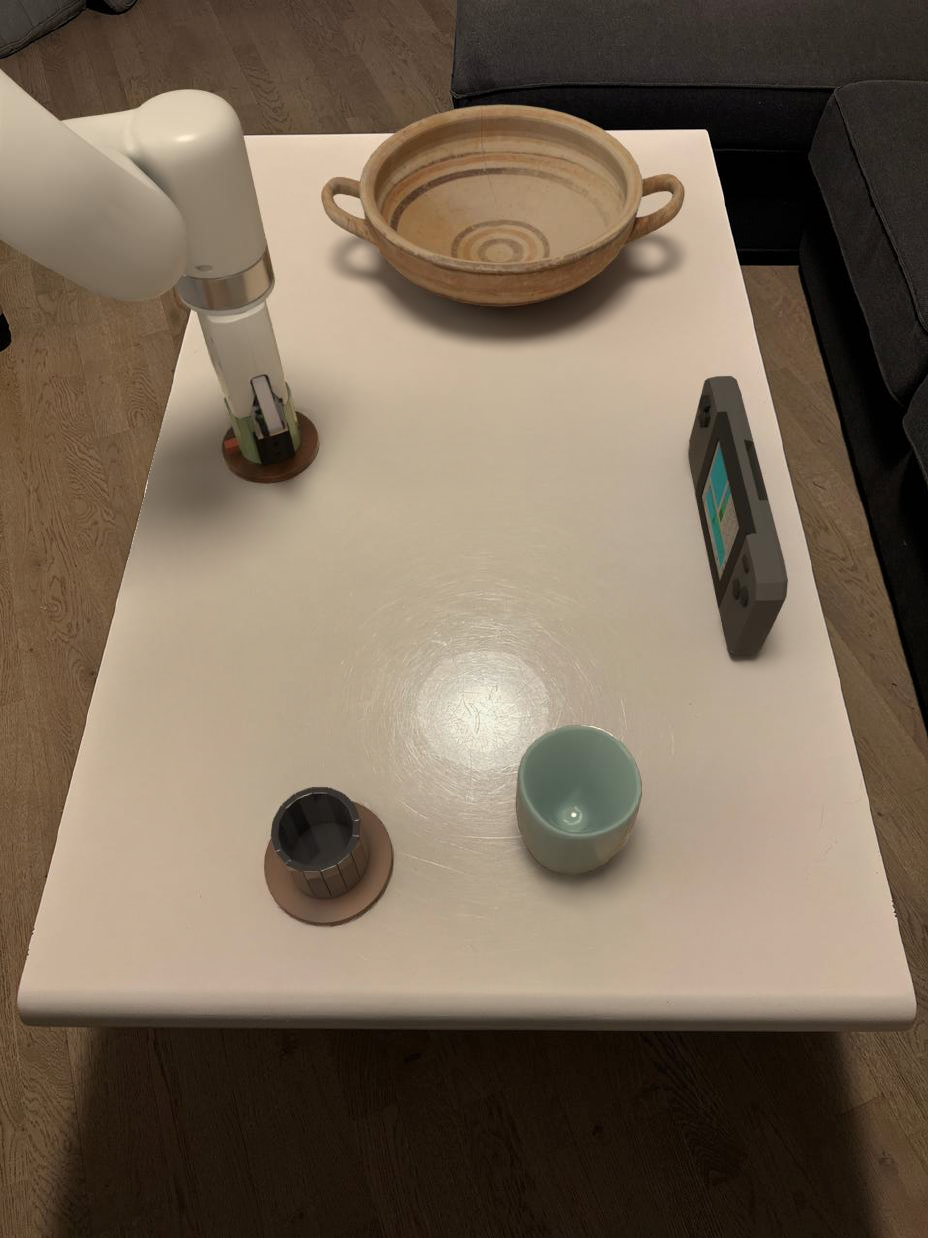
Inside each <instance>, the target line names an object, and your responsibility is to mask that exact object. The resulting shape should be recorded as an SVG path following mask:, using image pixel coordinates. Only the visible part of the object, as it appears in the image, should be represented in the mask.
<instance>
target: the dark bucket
mask: <svg viewBox="0 0 928 1238" xmlns="http://www.w3.org/2000/svg"><path fill="white" fill-rule="evenodd" d="M352 801H353V800H352V799H350V797H349V796H347V794H345V793H344V792H342V791H339V790H336V789H334V788H332V787H328V786H312V787H308V788H305V789H303V790H300V791H297V792H295V793H293V794H291V796H289V797H288V798H287V799H286V800H285V801H283V802H282V803H281V805H280V806H279V808H278V809H277V811H276V813H275V815H274V817H273V819H272V821H271V828H270V829H271V830H270V839H271V841H272V844H273V847H274V851H275V853H276V855H277V857H278V859H279V860H280V862H281V864H282V866H283V868H284V869H285V871H286V873H287V875H288V877H289V878H290V880H291V881H292V882H293V884H294V885H295V886H296V887H297V888H298V889H299V890H300V891H301V892H302V893H304V894H306V895H308V896H310V897H313V898H317V899H332V898H336V897H339V896H342V895H344V894H346V893H348V892H349V891H351V890H352V889H353V888H354V887H356V885H357V884H358V883H359V882H360V881H361V879H362V878H363V876H364V875H365V872H366V870H367V867H368V863H369V847H368V843H367V839H366V836H365V833H364V829H363V826H362V823H361V819H360V817H359V814H358V811H357V808H356V806H355V804H354V803H353V802H354V801H353V802H352Z"/></svg>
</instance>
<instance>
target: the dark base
mask: <svg viewBox="0 0 928 1238" xmlns="http://www.w3.org/2000/svg"><path fill="white" fill-rule="evenodd" d="M351 801H352V802H353V803H354V804H355V806H356V808H357V811H358V814H359V817H360V819H361V823H362V826H363V829H364V833H365V836H366V839H367V843H368V847H369V863H368V867H367V870H366V872H365V875H364V876H363V878H362V879H361V881H360V882H359V883H358V884H357V885H356V887H354V888H353V889H352V890H351V891H349V892H348V893H346V894H344V895H342V896H339V897H336V898H332V899H317V898H313V897H310V896H308V895H306V894H304V893H302V892H301V891H300V890H299V889H298V888H297V887H296V886H295V885H294V884H293V882H292V881H291V880H290V878H289V877H288V875H287V873H286V871H285V869H284V868H283V866H282V864H281V862H280V860H279V859H278V857H277V855H276V853H275V851H274V847H273V844H272V841H271V838H270V839H269V840H268V843H267V846H266V850H265V855H264V862H263V870H264V879H265V882H266V885H267V889H268V891H269V892H270V894H271V897H272V898H273V900H274V901H275V902H276V904H277V905H278V907H279V908H280V909H281V910H283V912H284V913H286V914H287V915H288V916H290V917H291V918H293V919H294V920H296V921H298V922H301V923H304V924H306V925H311V926H317V927H331V926H337V925H342V924H345V923H349V922H350V921H353V920H355V919H357V918H359V917H360V916H362V915H363V914H365V913H366V912H367V911H369V909H371V908H372V907H373V906H374V905H375V904H376V903H377V902H378V901H379V899H380V898H381V897H382V895H383V894H384V892H385V890H386V889H387V886H388V884H389V882H390V879H391V876H392V871H393V864H394V851H393V845H392V842H391V838H390V835H389V833H388V830H387V828H386V826H385V825H384V824H383V822H382V820H380V818H379V817H378V816H377V815H376V814H375V813H374V812H373V811H372V810H371V809H370V808H368V807H366V806H365V805H363V804H361V803H358V802H356V801H353V800H351Z"/></svg>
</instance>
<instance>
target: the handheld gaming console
mask: <svg viewBox="0 0 928 1238" xmlns="http://www.w3.org/2000/svg"><path fill="white" fill-rule="evenodd" d="M688 460H689V465H690V466H689V467H690V471H691V476H692V481H693V487H694V494H695V501H696V505H697V509H698V515H699V520H700V524H701V529H702V535H703V540H704V545H705V550H706V554H707V560H708V563H709V569H710V573H711V579H712V585H713V589H714V595H715V598H716V604H717V608H718V610H719V614H720V619H721V624H722V625H721V626H722V629H723V634H724V638H725V642H726V646H727V650H728V651H729V652H731V653H733V654H736V655H757V654H759V653H760V652H761V651H762V650H763V648H764V646H765V643H766V641H767V639H768V637H769V635H770V632H771V630H772V629H773V627H774V624H775V622H776V620H777V618H778V616H779V613H780V612H781V609H782V608H783V605H784V603H785V601H786V599H787V597H788V596H787V595H788V585H789V584H788V582H789V579H788V573H787V572H788V571H787V567H786V563H785V558H784V554H783V550H782V546H781V543H780V539H779V535H778V531H777V527H776V523H775V519H774V514H773V511H772V508H771V503H770V500H769V496H768V492H767V489H766V485H765V481H764V476H763V472H762V469H761V465H760V461H759V457H758V454H757V449H756V446H755V442H754V438H753V434H752V430H751V426H750V423H749V418H748V414H747V411H746V406H745V402H744V399H743V396H742V391H741V389H740V385H739V383H738V380H737V379H736V378H735V377H734V376H732V375H718V376H712V377H708V378H706V379H705V380H704V382H703V386H702V390H701V393H700V397H699V401H698V405H697V409H696V412H695V416H694V422H693V425H692V428H691V432H690V436H689V440H688Z"/></svg>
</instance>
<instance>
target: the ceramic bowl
mask: <svg viewBox="0 0 928 1238" xmlns="http://www.w3.org/2000/svg"><path fill="white" fill-rule="evenodd" d="M662 192H663V193H664V192H668V193H670V194H671V198H670V200H669V201H668V202H667V203H666V204H665V205H664V206H662V207H661V208H659V209H657V210H656V211H654V212H652V213H650V214H647V215H642V216H638V211H639V208H640V205H641V202H642V198H644V197H647V196H650V195H653V194H657V193H662ZM685 194H686V193H685V185H684V184H683V183H682V181H681V180H679V178H678V177H677V176H675V174H671V173H661V174H657V175H653V176H649V177H646V178H643V176H642V173H641V170H640V167H639V164H638V163H637V162H636V160H635V158H634V156H633V155H632V154H631V152H630V151H629V150H628V149H627V148H626V147H625V146H624V145H623V144H622V143H621V142H620V141H619V140H618V139H617V138H616V137H614V136H613V135H612V134H610V133H609V132H607V131H606V130H604V129H603V128H602V127H599V126H597V125H595V124H593V123H591V122H589V121H588V120H585V119H582V118H580V117H577V116H574V115H571V114H568V113H566V112H563V111H558V110H554V109H549V108H545V107H538V106H531V105H524V104H499V103H498V104H485V105H483V104H482V105H474V106H472V105H471V106H467V107H459V108H454V109H450V110H447V111H443V112H439V113H436V114H433V115H430V116H427V117H424V118H422V119H418V120H416V121H414V122H412V123H410V124H408V125H407V126H404V127H403V128H401V129H399V130H397V131H396V132H395V133H393V134H392V135H391V136H389V137H388V138H386V139H385V140H384V141H383V142H382V143H381V144H380V145H379V146H378V147H377V148H376V149H375V150H374V151H373V152H372V153H371V154H370V156H369V157H368V159H367V161H366V163H365V164H364V167H363V168H362V171H361V175H360V178H359V180H356V179H354V178H351V177H345V176H334V177H332V178H330V179H329V180H328V181H327V182H326V184H325V185H324V186H323V187H322V190H321V193H320V195H321V196H320V198H321V203H322V207H323V210H324V212H325V214H326V216H327V217H328V218H329V220H330V221H332V222H333V224H335V225H336V226H338V227H339V228H340V229H342V230H344V231H346V232H348V233H349V234H351V235H354V236H356V237H358V238H360V239H363V240H365V241H367V242H368V243H371V244H372V245H374V246H376V247H377V248H378V250H379V251H380V253H381V254H382V256H383V258H384V259H385V260H386V261H387V262H388V263H389V264H390V265H391V266H392V267H393V268H394V269H395V270H396V271H397V272H398V273H399V274H400V275H402V277H404V278H405V279H406V280H409V281H410V282H411V283H413V284H415V286H418V287H420V288H421V289H423V290H424V291H428V292H429V293H432V294H434V295H436V296H438V297H441V298H445V299H449V300H452V301H455V302H457V303H458V302H459V303H464V304H470V305H475V306H484V307H511V306H512V307H515V306H525V305H530V304H534V303H535V304H536V303H541V302H545V301H548V300H550V299H554V298H556V297H560V296H563V295H565V294H568V293H570V292H572V291H574V290H576V289H578V288H580V287H582V286H584V284H586V283H588V282H589V281H591V280H592V279H594V278H595V277H597V276H598V275H599V274H601V273H602V272H603V271H604V270H605V269H606V267H608V266H609V264H611V263H612V262H613V261H614V260H615V259H616V258H617V257H618V256H619V253H620V252H621V251H622V249H623V247H626V246H627V245H629V244H631V243H632V242H635V241H637V240H638V239H640V238H643V237H644V236H645V237H646V236H647V235H649V234H651V233H654V232H655V231H657V230H659V229H661V228H662V227H664V226H666V225H667V224H669V223H671V222H672V220H674V219H675V218H676V217H677V215H678V214H679V213H680V211H681V209H682V208H683V204H684V201H685V196H686V195H685ZM337 195H344V196H350V197H354V198H356V199H359V201H360V204H361V206H362V209H363V215H364V218H360V217H359V216H358V217H357V216H355V215H353V214H351V213H349V212H347V211H345V210H344V209H342V208H341V207H340V206H339V205H338V204H337V202H336V201H335V198H334V197H335V196H337Z"/></svg>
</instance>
